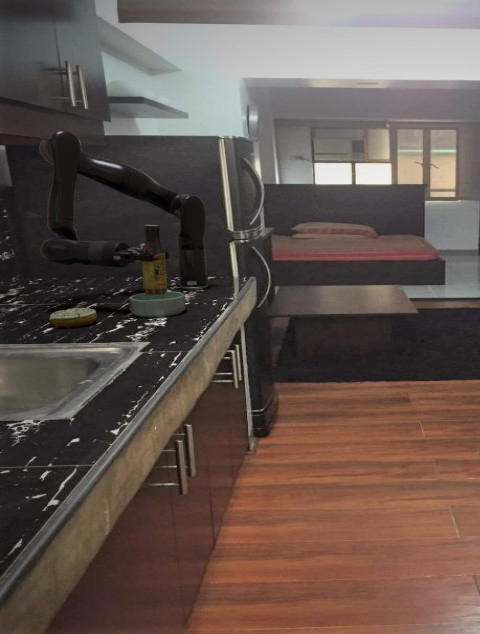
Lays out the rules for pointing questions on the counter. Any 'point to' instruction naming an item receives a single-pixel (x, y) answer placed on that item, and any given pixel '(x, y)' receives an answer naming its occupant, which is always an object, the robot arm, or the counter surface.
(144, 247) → the sauce bottle
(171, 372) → the counter surface
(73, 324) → the decorated donut
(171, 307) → the bowl
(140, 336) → the counter surface
